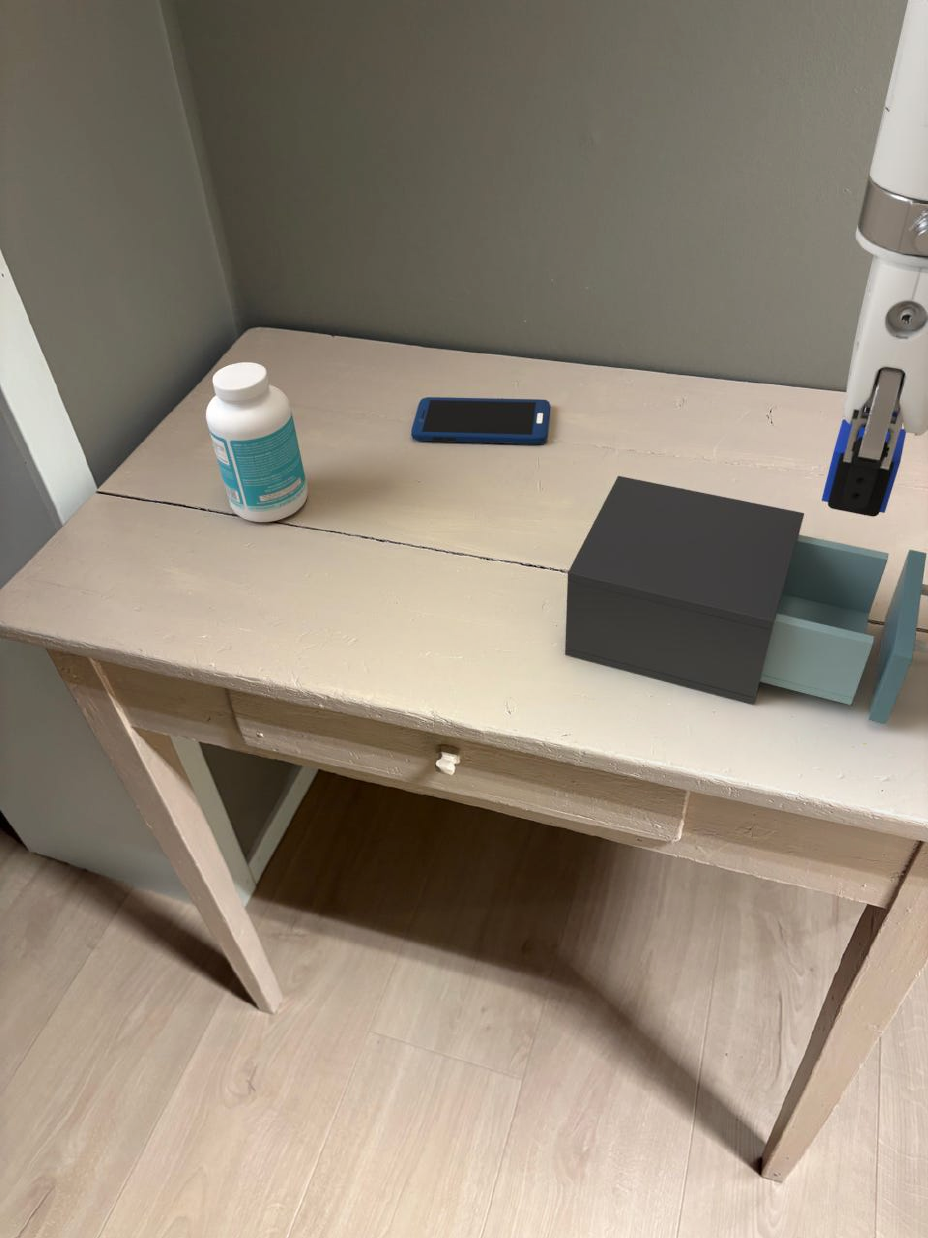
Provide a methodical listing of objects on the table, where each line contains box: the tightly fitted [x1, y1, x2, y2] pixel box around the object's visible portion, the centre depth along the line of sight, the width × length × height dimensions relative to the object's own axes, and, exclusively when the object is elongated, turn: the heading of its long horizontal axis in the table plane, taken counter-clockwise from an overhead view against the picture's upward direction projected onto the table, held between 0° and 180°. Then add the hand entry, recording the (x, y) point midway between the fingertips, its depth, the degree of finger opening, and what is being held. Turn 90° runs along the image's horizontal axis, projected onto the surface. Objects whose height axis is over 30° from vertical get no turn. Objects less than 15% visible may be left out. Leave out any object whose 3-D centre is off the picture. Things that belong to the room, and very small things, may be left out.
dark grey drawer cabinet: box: [564, 475, 805, 705], centre depth 74 cm, size 15×13×9 cm
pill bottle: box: [205, 361, 309, 523], centre depth 87 cm, size 8×7×14 cm
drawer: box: [760, 534, 928, 725], centre depth 70 cm, size 18×11×7 cm, turn 67°
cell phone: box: [410, 396, 552, 445], centre depth 99 cm, size 7×14×1 cm, turn 83°
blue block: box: [821, 418, 907, 514], centre depth 63 cm, size 4×4×4 cm
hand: (858, 487), depth 64 cm, fingers closed on blue block, 4 cm apart
